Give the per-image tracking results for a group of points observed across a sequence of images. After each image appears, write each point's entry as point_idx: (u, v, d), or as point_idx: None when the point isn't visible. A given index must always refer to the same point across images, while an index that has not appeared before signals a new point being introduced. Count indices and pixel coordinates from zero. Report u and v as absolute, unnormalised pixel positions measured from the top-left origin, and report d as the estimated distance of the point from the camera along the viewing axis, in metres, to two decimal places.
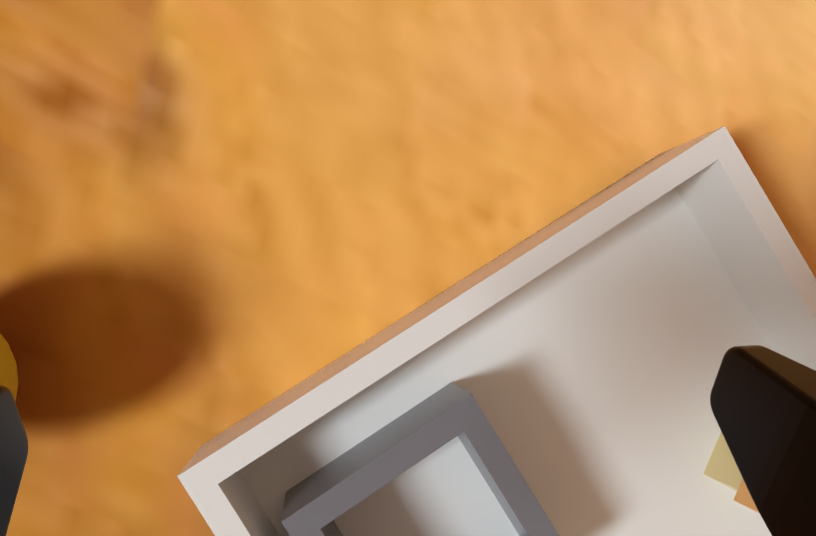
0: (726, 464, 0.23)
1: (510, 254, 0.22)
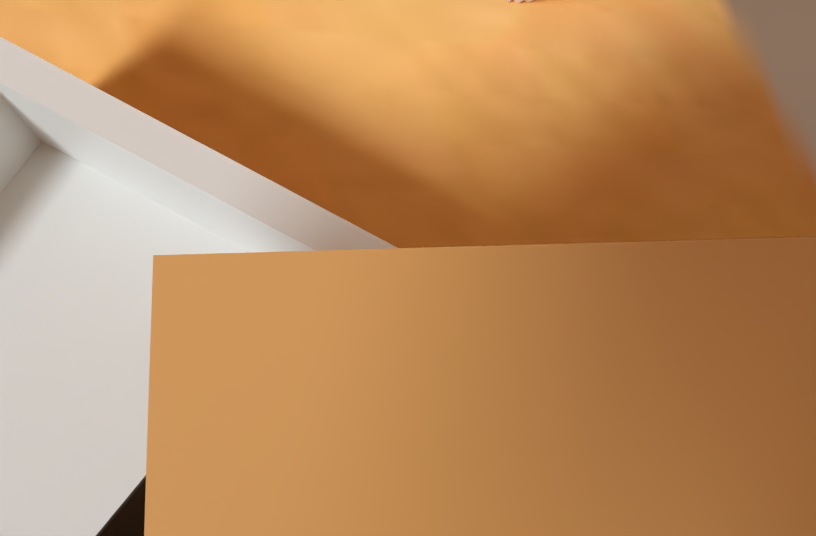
0: None
1: None
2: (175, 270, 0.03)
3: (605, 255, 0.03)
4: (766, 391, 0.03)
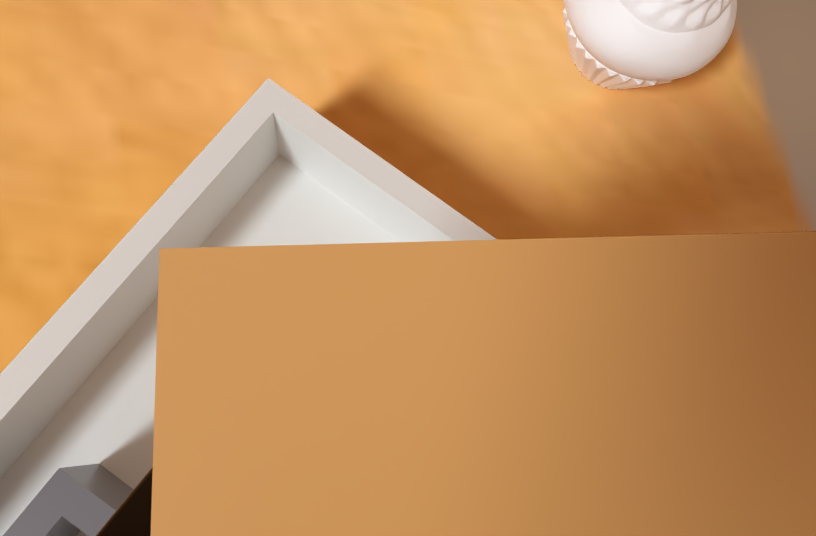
0: None
1: None
2: (182, 263, 0.03)
3: (609, 249, 0.03)
4: (770, 384, 0.03)
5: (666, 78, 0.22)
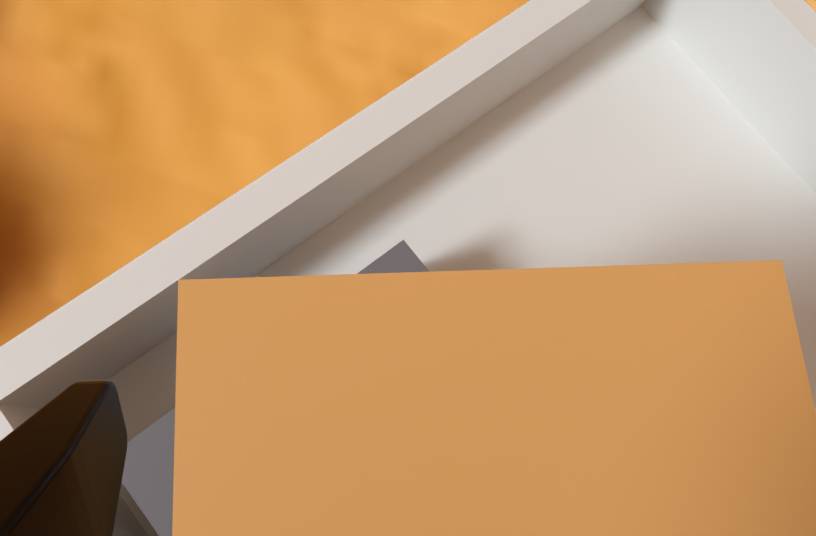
0: None
1: None
2: (197, 292, 0.03)
3: (566, 278, 0.03)
4: (704, 396, 0.03)
5: None
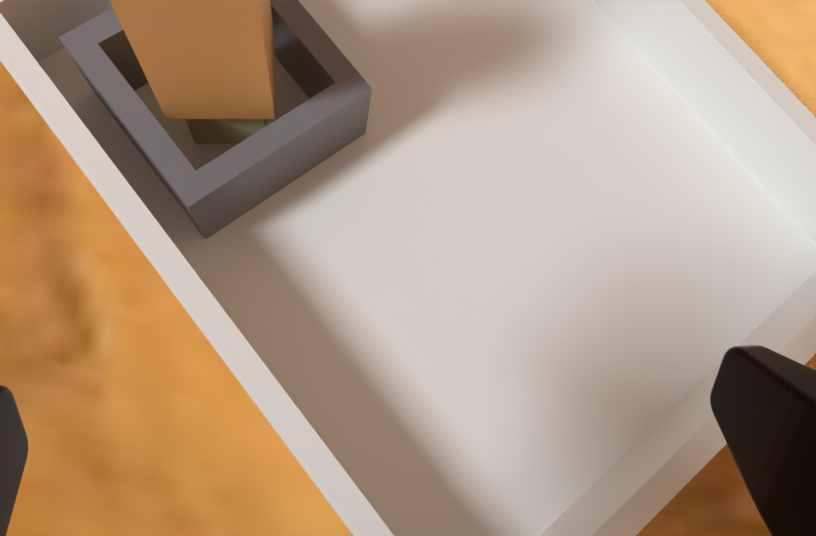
0: None
1: None
2: None
3: None
4: None
5: None
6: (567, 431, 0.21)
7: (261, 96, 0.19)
